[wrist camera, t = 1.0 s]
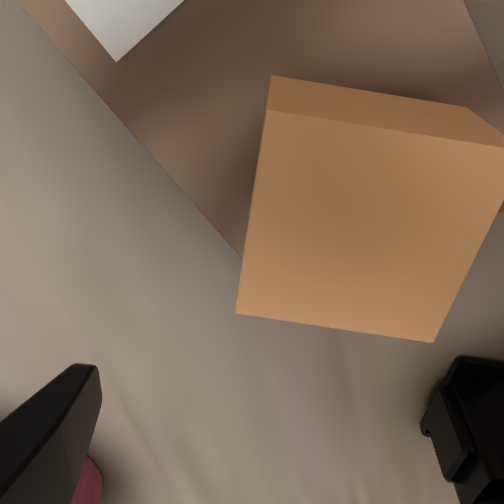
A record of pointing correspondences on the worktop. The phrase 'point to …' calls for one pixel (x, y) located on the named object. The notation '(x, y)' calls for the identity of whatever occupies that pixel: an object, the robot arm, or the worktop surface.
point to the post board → (257, 73)
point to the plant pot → (88, 485)
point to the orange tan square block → (366, 209)
